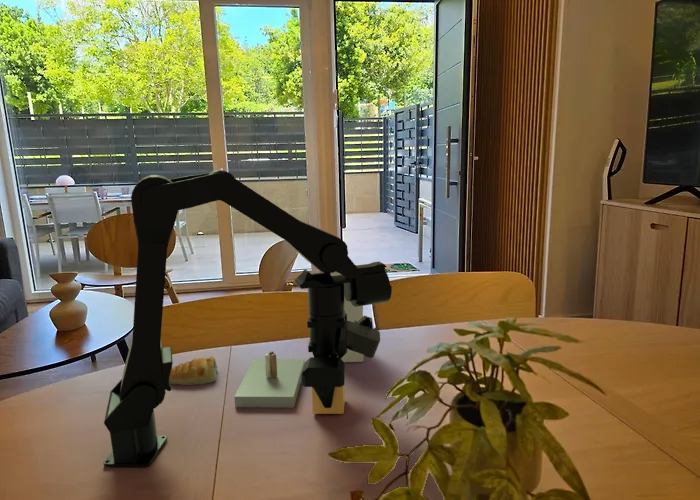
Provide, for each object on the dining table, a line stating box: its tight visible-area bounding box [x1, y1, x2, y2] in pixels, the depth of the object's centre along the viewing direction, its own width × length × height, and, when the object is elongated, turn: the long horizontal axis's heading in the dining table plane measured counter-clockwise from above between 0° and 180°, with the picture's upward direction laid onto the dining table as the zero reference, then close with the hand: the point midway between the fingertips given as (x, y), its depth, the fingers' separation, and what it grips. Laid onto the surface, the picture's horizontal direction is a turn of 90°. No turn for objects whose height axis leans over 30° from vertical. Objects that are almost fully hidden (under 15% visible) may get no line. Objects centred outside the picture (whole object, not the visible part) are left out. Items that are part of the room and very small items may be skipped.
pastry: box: [170, 356, 218, 386], centre depth 88 cm, size 9×7×4 cm
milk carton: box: [330, 272, 364, 363], centre depth 95 cm, size 7×7×19 cm
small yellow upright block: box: [311, 382, 346, 415], centre depth 77 cm, size 5×5×6 cm
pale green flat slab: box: [234, 351, 306, 408], centre depth 84 cm, size 14×10×7 cm
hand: (329, 398), depth 77 cm, fingers closed on small yellow upright block, 5 cm apart
